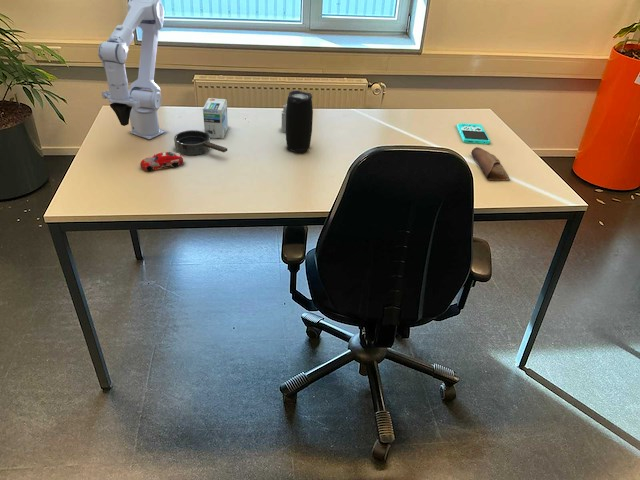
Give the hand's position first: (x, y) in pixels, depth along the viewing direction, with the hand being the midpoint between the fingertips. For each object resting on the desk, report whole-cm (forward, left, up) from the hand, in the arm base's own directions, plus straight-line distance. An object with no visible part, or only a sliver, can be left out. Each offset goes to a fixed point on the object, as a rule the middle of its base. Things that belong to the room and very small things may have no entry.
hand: (124, 124), depth 168 cm
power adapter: (+33, +46, -10) cm, 57 cm away
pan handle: (+25, +14, -6) cm, 29 cm away
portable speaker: (+44, +35, -10) cm, 57 cm away
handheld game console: (+91, +86, -10) cm, 126 cm away
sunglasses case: (+104, +62, -10) cm, 121 cm away
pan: (+15, +14, -9) cm, 23 cm away
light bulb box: (+13, +29, -10) cm, 33 cm away
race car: (+16, -1, -10) cm, 19 cm away
